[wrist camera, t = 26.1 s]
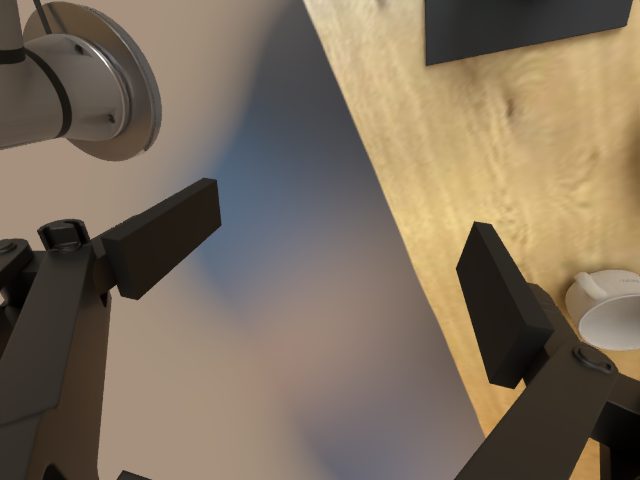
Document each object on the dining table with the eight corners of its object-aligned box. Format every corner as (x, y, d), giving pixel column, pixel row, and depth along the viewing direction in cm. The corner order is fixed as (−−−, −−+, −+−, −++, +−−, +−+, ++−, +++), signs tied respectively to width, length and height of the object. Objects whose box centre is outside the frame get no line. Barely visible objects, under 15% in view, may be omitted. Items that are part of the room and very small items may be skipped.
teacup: (651, 298, 46) (696, 338, 39) (571, 323, 51) (598, 362, 44) (616, 231, 42) (657, 263, 35) (533, 266, 47) (556, 299, 41)
